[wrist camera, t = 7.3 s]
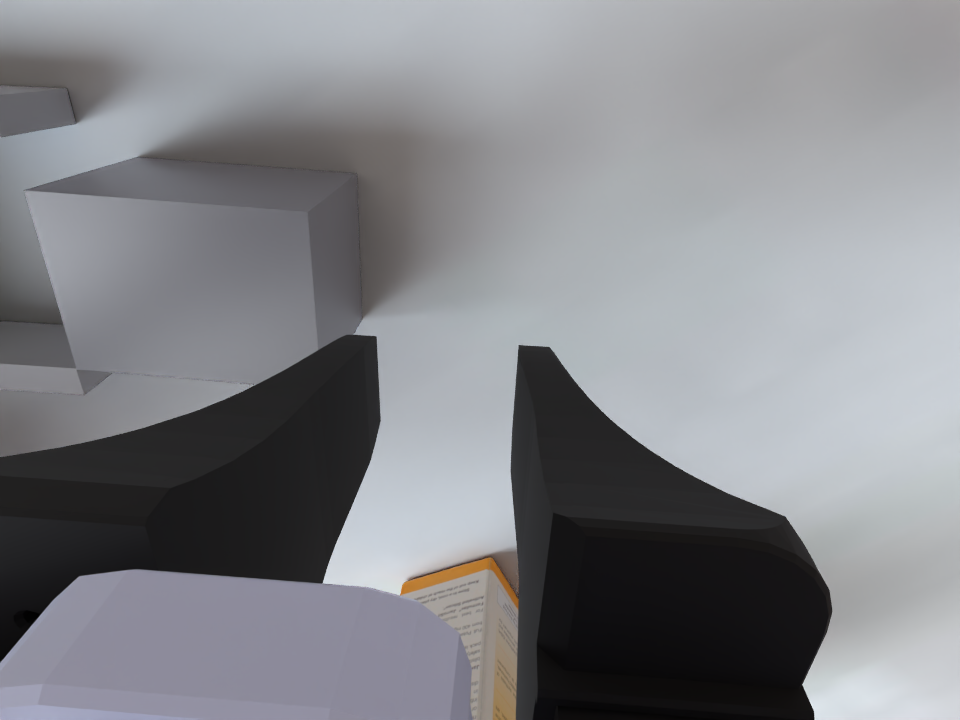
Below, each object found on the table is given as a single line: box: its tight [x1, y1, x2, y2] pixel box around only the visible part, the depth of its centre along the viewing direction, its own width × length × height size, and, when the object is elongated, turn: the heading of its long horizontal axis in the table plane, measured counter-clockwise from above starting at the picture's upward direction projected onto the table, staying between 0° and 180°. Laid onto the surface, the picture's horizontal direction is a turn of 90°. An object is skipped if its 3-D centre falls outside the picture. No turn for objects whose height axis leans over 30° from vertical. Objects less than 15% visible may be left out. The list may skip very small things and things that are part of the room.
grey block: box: [24, 157, 362, 384], centre depth 18 cm, size 5×7×5 cm
